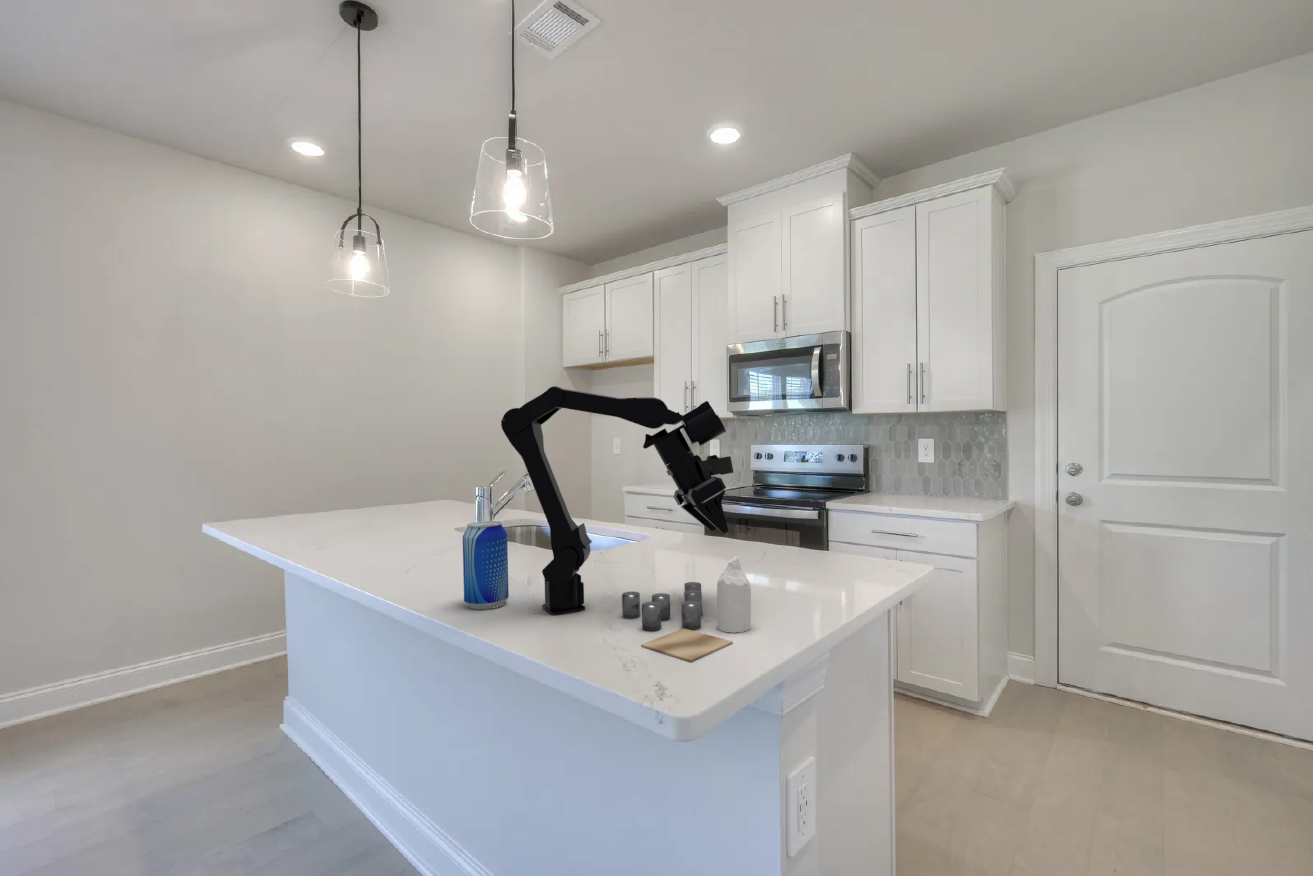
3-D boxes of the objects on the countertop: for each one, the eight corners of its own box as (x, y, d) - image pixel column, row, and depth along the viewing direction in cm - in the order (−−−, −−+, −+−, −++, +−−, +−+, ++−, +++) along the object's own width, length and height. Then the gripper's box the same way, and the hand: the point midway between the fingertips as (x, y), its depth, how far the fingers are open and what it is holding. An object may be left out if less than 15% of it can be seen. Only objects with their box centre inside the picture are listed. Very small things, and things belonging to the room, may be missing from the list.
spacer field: (655, 637, 95) (655, 612, 95) (619, 615, 107) (619, 593, 107) (739, 621, 102) (738, 598, 102) (696, 602, 115) (695, 581, 115)
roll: (723, 551, 103) (754, 553, 101) (724, 620, 103) (756, 624, 101) (711, 558, 98) (744, 560, 95) (712, 631, 97) (745, 635, 95)
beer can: (485, 613, 111) (482, 527, 111) (454, 607, 115) (453, 525, 115) (517, 602, 118) (515, 521, 118) (488, 597, 122) (486, 519, 122)
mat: (641, 646, 91) (641, 644, 91) (683, 630, 98) (683, 628, 98) (691, 662, 84) (691, 660, 84) (732, 643, 91) (732, 641, 91)
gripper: (727, 431, 103) (772, 510, 103) (704, 442, 122) (741, 509, 121) (673, 463, 101) (718, 543, 101) (657, 469, 120) (695, 537, 119)
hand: (719, 531), depth 111 cm, fingers open, 9 cm apart
